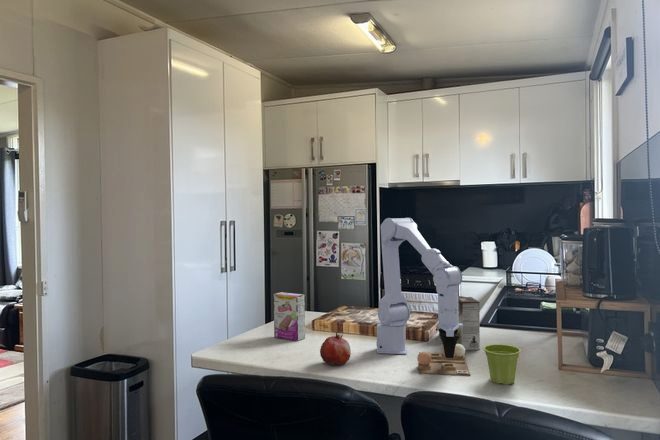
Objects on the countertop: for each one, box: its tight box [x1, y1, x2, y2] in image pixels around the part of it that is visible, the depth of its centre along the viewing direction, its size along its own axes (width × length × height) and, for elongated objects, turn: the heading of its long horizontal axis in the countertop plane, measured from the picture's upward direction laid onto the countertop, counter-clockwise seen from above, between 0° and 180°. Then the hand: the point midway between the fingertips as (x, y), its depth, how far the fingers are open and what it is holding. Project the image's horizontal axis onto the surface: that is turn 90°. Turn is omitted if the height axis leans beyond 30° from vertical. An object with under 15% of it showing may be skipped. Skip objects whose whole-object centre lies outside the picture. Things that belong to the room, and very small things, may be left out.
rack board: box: [417, 351, 471, 377], centre depth 146 cm, size 14×20×1 cm
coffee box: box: [456, 296, 481, 351], centre depth 165 cm, size 9×6×16 cm
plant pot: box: [483, 343, 522, 385], centre depth 131 cm, size 9×9×9 cm
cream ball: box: [455, 344, 466, 357], centre depth 150 cm, size 4×4×4 cm
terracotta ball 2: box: [441, 346, 456, 359], centre depth 141 cm, size 4×4×4 cm
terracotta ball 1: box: [417, 351, 431, 366], centre depth 143 cm, size 4×4×4 cm
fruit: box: [319, 331, 352, 367], centre depth 148 cm, size 9×10×10 cm
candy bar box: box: [273, 291, 306, 342], centre depth 180 cm, size 11×5×16 cm, turn 58°
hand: (448, 355), depth 141 cm, fingers closed on terracotta ball 2, 4 cm apart
